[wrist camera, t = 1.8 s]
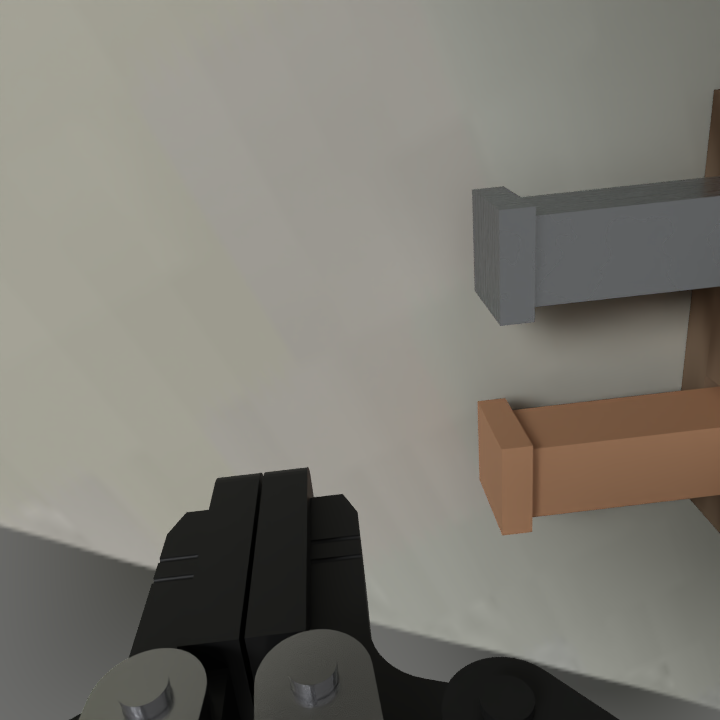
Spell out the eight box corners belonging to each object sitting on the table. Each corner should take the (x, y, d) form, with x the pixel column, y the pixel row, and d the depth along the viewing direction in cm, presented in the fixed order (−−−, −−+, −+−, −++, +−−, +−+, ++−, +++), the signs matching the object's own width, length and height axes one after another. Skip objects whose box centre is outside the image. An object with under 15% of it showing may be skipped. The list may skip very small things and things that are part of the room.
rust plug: (477, 401, 29) (501, 449, 25) (777, 366, 29) (844, 409, 26) (479, 479, 31) (502, 535, 27) (764, 446, 31) (824, 496, 27)
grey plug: (472, 189, 25) (499, 210, 22) (814, 153, 26) (897, 167, 22) (474, 290, 27) (500, 325, 23) (797, 255, 27) (871, 284, 24)
